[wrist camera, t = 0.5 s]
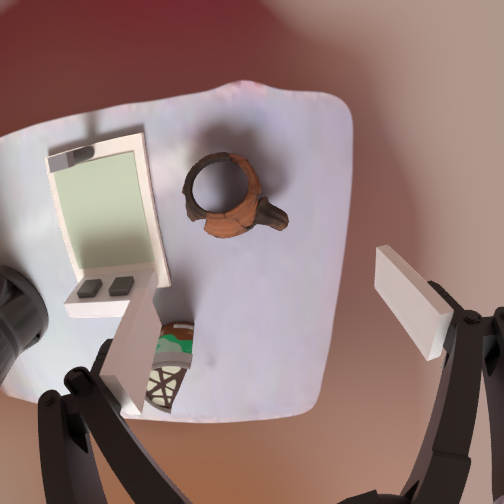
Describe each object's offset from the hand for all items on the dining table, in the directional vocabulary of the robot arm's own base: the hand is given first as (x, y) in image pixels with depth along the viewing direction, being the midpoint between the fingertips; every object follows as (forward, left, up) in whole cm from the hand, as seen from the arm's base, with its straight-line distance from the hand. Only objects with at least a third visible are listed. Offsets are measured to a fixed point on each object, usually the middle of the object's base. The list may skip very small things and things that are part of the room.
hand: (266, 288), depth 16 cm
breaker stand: (-18, -1, -21) cm, 28 cm away
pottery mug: (-1, 0, -21) cm, 21 cm away
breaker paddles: (-18, -8, -17) cm, 26 cm away
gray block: (-18, +8, -20) cm, 28 cm away
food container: (-14, -21, -21) cm, 33 cm away
